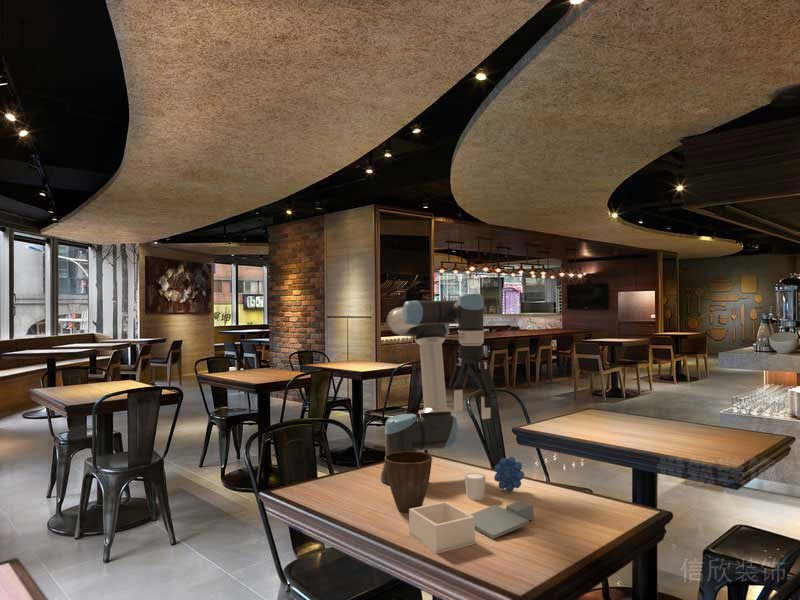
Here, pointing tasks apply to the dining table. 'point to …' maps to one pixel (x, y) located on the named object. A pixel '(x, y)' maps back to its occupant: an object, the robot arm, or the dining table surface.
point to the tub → (442, 527)
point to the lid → (503, 518)
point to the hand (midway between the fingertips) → (471, 414)
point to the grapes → (509, 474)
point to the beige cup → (475, 486)
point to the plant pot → (408, 478)
